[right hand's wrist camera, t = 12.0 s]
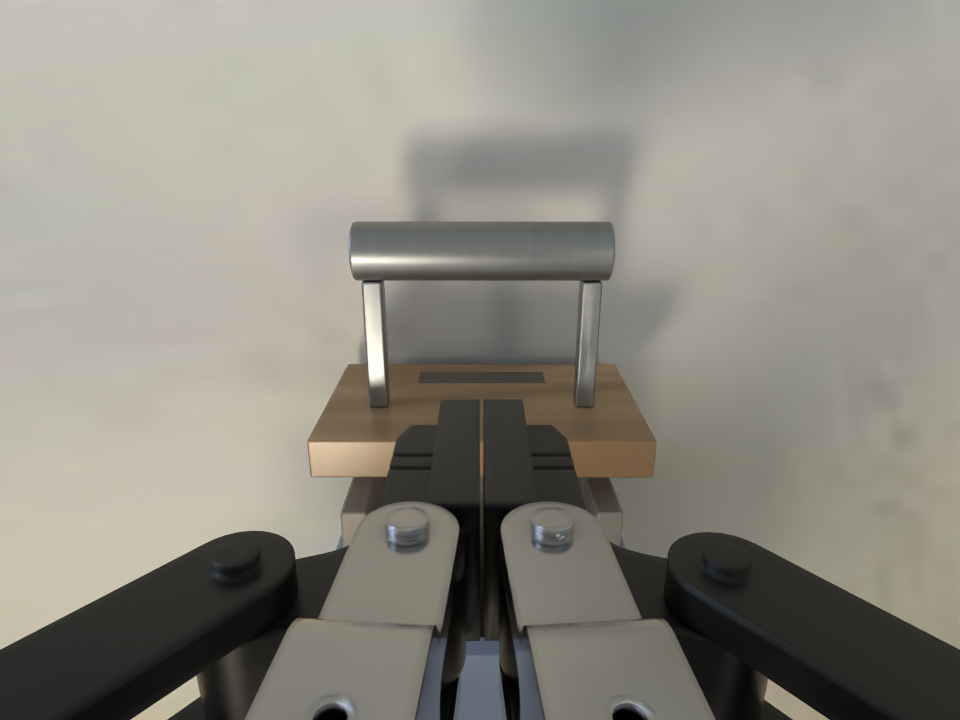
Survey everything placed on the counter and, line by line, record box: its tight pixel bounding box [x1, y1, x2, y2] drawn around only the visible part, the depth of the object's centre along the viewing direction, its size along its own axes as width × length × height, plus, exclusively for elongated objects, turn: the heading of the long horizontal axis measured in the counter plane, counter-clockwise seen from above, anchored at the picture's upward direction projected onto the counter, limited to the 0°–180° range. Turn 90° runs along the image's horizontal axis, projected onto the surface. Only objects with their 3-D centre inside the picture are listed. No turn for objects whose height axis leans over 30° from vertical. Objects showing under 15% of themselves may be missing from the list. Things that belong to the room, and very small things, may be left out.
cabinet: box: [336, 534, 626, 720], centre depth 26 cm, size 14×11×8 cm
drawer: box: [307, 222, 656, 637], centre depth 23 cm, size 18×10×6 cm, turn 0°
